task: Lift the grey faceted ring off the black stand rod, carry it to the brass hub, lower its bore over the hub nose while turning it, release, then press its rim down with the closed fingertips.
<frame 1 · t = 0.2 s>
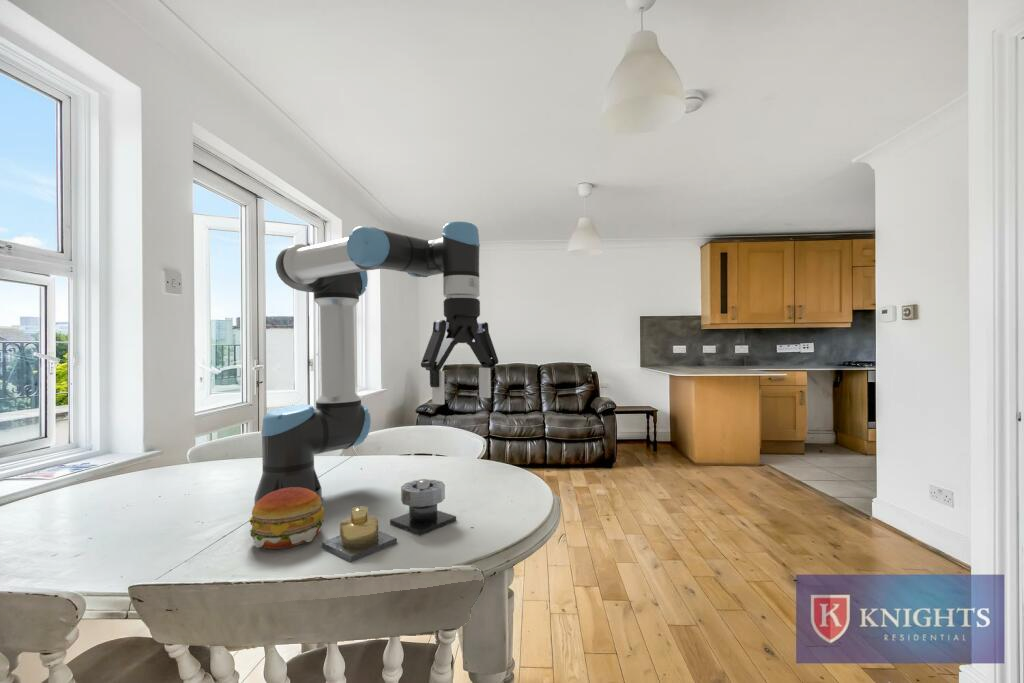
hand: (463, 400, 95), 27 cm above the table, fingers open, 13 cm apart
grey faceted ring: (423, 499, 100), point 5 cm above the table, touching stand
stand: (423, 522, 100), on the table
burger: (288, 540, 92), on the table
hub: (359, 545, 88), on the table
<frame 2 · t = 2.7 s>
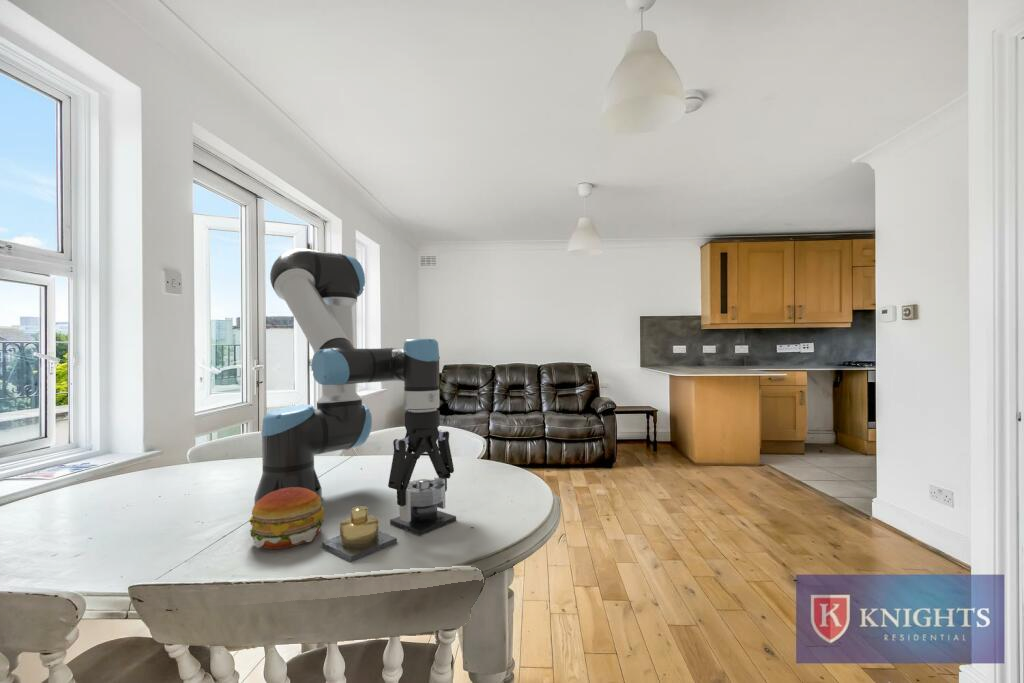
hand: (423, 513, 100), 2 cm above the table, fingers closed on grey faceted ring, 9 cm apart
grey faceted ring: (423, 499, 100), point 5 cm above the table, touching gripper, stand
everything else where it was.
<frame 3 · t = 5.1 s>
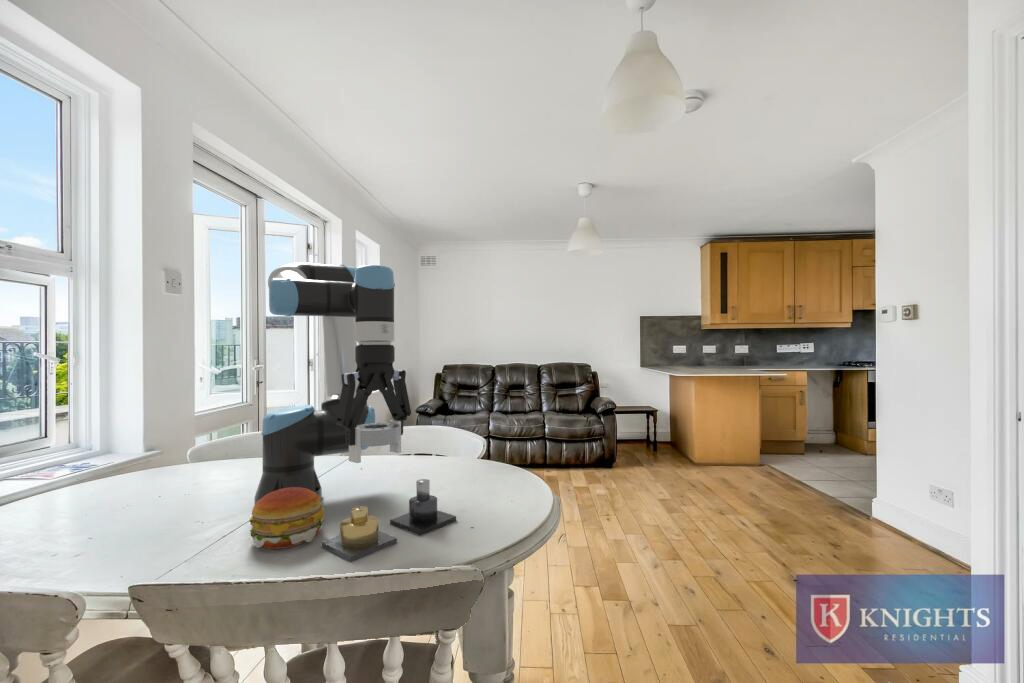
hand: (375, 456, 91), 16 cm above the table, fingers closed on grey faceted ring, 9 cm apart
grey faceted ring: (376, 441, 92), point 19 cm above the table, touching gripper
everything else where it was.
when the fingers open (3 cm above the table, at t = 7.5 s): grey faceted ring drops 1 cm, resting on hub.
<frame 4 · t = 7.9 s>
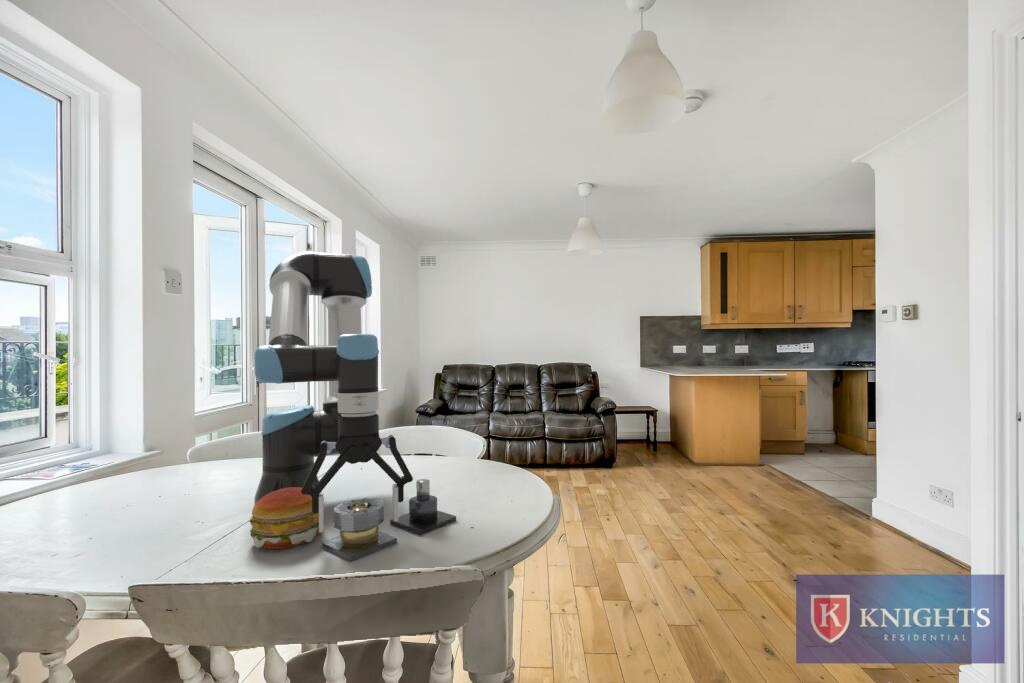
hand: (359, 524, 88), 4 cm above the table, fingers open, 13 cm apart
grey faceted ring: (359, 521, 88), point 4 cm above the table, touching hub
everything else where it was.
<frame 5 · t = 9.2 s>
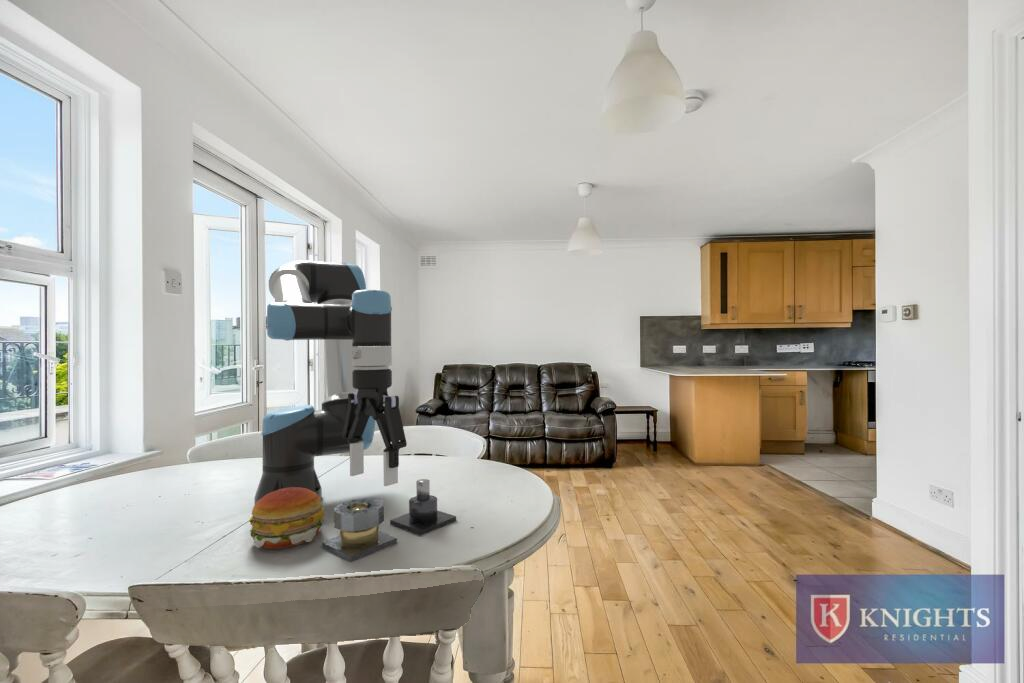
hand: (373, 479, 91), 12 cm above the table, fingers open, 11 cm apart
nothing on the table moved.
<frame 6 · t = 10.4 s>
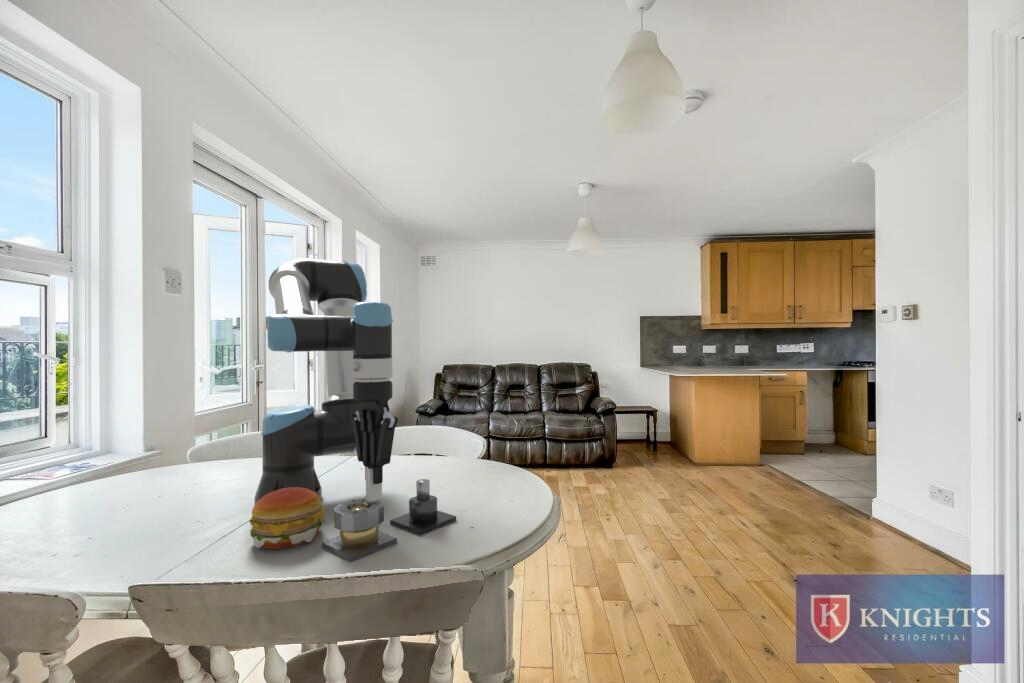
hand: (374, 499, 91), 8 cm above the table, fingers closed
nothing on the table moved.
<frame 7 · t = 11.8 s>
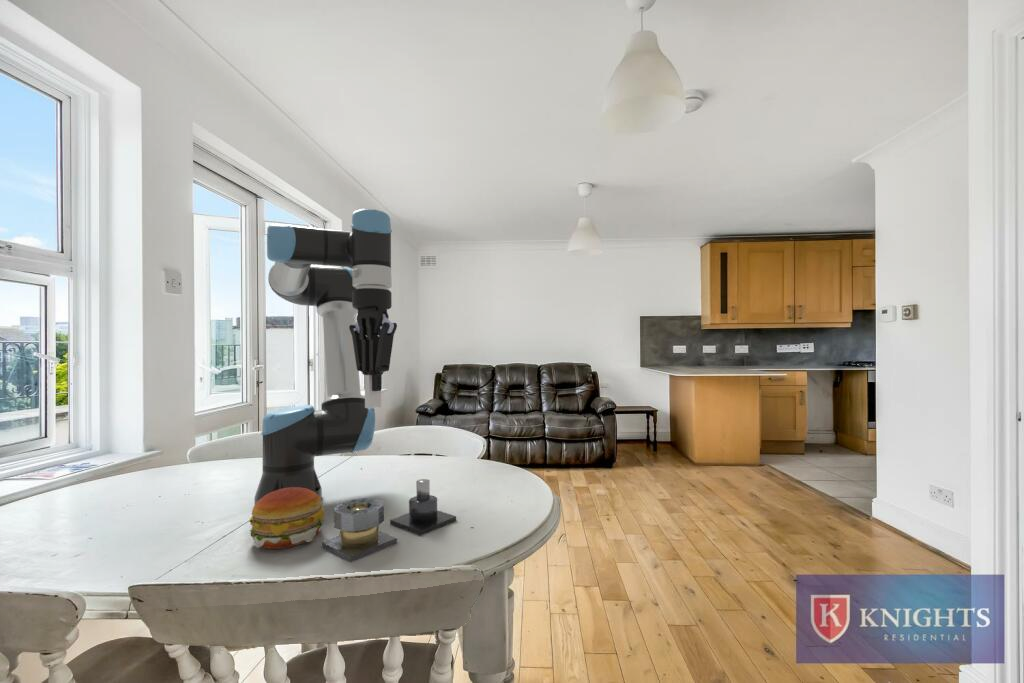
hand: (373, 407, 91), 26 cm above the table, fingers closed
nothing on the table moved.
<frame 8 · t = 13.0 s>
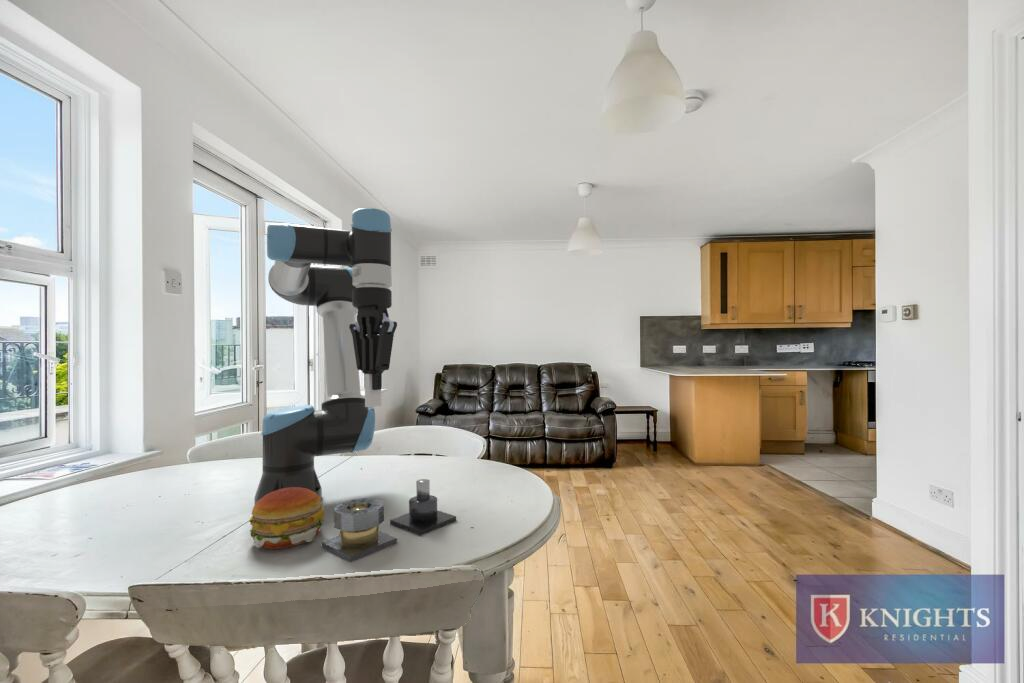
hand: (373, 406, 91), 26 cm above the table, fingers closed
nothing on the table moved.
at the end: grey faceted ring 0.0 cm off-centre on the hub, point 4.5 cm above the hub's base; grey faceted ring tilted 0°; the gripper is holding nothing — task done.
